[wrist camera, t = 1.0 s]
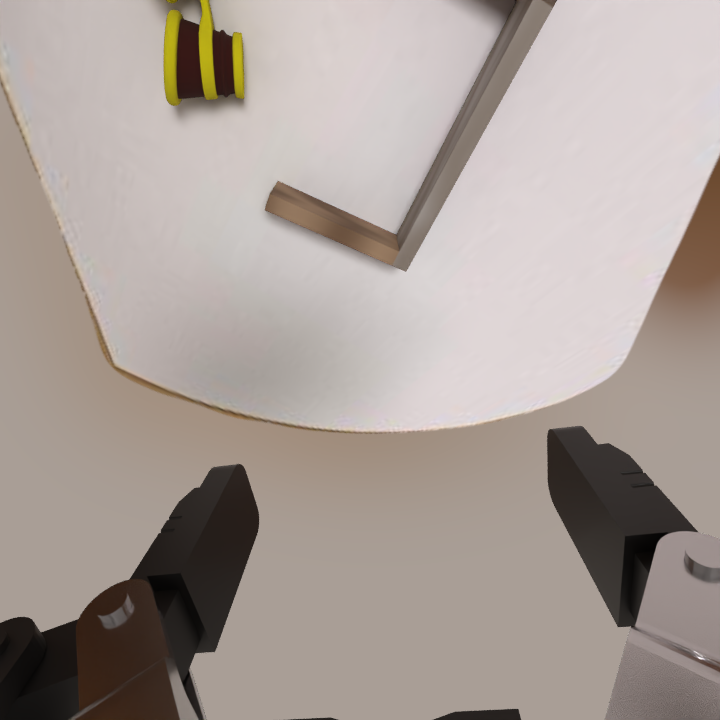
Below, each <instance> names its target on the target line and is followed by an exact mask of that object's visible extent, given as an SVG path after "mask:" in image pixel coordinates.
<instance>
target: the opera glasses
mask: <svg viewBox="0 0 720 720" xmlns="http://www.w3.org/2000/svg"><path fill="white" fill-rule="evenodd" d="M166 1H167V2H169V3H175V2H177V1H178V0H166ZM200 2H201V7H202V17H201V20H200V25H198V24H196V23H193V22H190V21H187V20H184V19H183V16H182V14H181V13H180V12H179V11H177V10H170V11H169V13H168V15H167V20H166V27H165V37H164V86H165V94H166V99H167V101H168V103H169V104H171V105H173V106H177V105H179V104H180V102H181V100H182V99H185V98H195V97H204V96H205V98H206V100H211V99H217V98H218V95H224V96H225V97H228V95H229V94H234V93H235V95H236V97H237V98H241V99H244V67H243V41H242V33H238V32H234V33H233V37H232V36H229V35H227V34H226V33H225V31H224V30H221V31H220V32H218V31H215V30H214V24H213V19H212V13H211V8H210V3H209V0H200Z"/></svg>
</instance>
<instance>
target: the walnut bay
mask: <svg viewBox="0 0 720 720" xmlns="http://www.w3.org/2000/svg"><path fill="white" fill-rule="evenodd" d="M516 1H517V2H516V4H515V6H514V7H513V9H512V11H511V13H510V15H509V17H508V19H507V21H506V23H505V25H504V27H503V29H502V31H501V33H500V35H499V37H498V39H497V41H496V42H495V44H494V46H493V48H492V50H491V52H490V54H489V56H488V58H487V60H486V62H485V64H484V66H483V68H482V70H481V72H480V74H479V76H478V77H477V79H476V81H475V83H474V85H473V87H472V89H471V91H470V93H469V95H468V97H467V99H466V101H465V103H464V105H463V107H462V109H461V111H460V112H459V114H458V116H457V118H456V120H455V122H454V124H453V126H452V128H451V130H450V132H449V134H448V136H447V138H446V140H445V142H444V144H443V146H442V147H441V149H440V151H439V153H438V155H437V157H436V159H435V161H434V163H433V165H432V167H431V169H430V171H429V173H428V175H427V177H426V179H425V181H424V182H423V184H422V186H421V188H420V190H419V192H418V194H417V196H416V198H415V200H414V202H413V204H412V206H411V208H410V210H409V212H408V214H407V216H406V217H405V219H404V221H403V223H402V225H401V227H400V229H399V231H398V233H397V235H395V234H393V233H391V232H389V231H386V230H384V229H382V228H380V227H378V226H375V225H373V224H371V223H369V222H367V221H364V220H362V219H360V218H358V217H356V216H353V215H351V214H349V213H347V212H345V211H343V210H340V209H338V208H336V207H334V206H332V205H329V204H327V203H325V202H323V201H321V200H318V199H316V198H314V197H312V196H310V195H307V194H305V193H303V192H301V191H299V190H296V189H294V188H292V187H290V186H288V185H286V184H283V183H281V182H279V181H278V182H277V183H276V185H275V187H274V188H273V190H272V191H271V193H270V195H269V198H268V201H267V204H266V208H265V210H266V211H268V212H270V213H273V214H275V215H277V216H280V217H282V218H284V219H286V220H289V221H291V222H293V223H296V224H298V225H300V226H302V227H305V228H307V229H309V230H312V231H314V232H316V233H319V234H321V235H323V236H325V237H328V238H330V239H332V240H335V241H337V242H339V243H341V244H344V245H346V246H348V247H351V248H353V249H355V250H357V251H360V252H362V253H364V254H367V255H369V256H371V257H374V258H376V259H378V260H380V261H383V262H385V263H387V264H390V265H392V266H394V267H396V268H399V269H401V270H403V271H407V269H408V267H409V266H410V264H411V262H412V260H413V258H414V257H415V255H416V253H417V251H418V249H419V248H420V246H421V244H422V242H423V240H424V239H425V237H426V235H427V233H428V231H429V230H430V228H431V226H432V224H433V222H434V221H435V219H436V217H437V215H438V213H439V212H440V210H441V208H442V206H443V204H444V203H445V201H446V199H447V197H448V195H449V194H450V192H451V190H452V188H453V186H454V185H455V183H456V181H457V179H458V177H459V176H460V174H461V172H462V170H463V168H464V167H465V165H466V163H467V161H468V159H469V158H470V156H471V154H472V152H473V150H474V149H475V147H476V145H477V143H478V141H479V140H480V138H481V136H482V134H483V132H484V131H485V129H486V127H487V125H488V123H489V122H490V120H491V118H492V116H493V114H494V113H495V111H496V109H497V107H498V105H499V104H500V102H501V100H502V98H503V96H504V95H505V93H506V91H507V89H508V87H509V86H510V84H511V82H512V80H513V78H514V77H515V75H516V73H517V71H518V69H519V68H520V66H521V64H522V62H523V60H524V59H525V57H526V55H527V53H528V51H529V50H530V48H531V46H532V44H533V42H534V41H535V39H536V37H537V35H538V33H539V32H540V30H541V28H542V26H543V24H544V23H545V21H546V19H547V17H548V15H549V14H550V12H551V10H552V8H553V6H554V5H555V3H556V1H557V0H516Z"/></svg>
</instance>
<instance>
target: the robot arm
mask: <svg viewBox="0 0 720 720" xmlns="http://www.w3.org/2000/svg"><path fill="white" fill-rule="evenodd" d="M547 438H548V439H547V451H548V452H547V453H548V486H549V491H550V495H551V498H552V502H553V504H554V506H555V508H556V510H557V512H558V514H559V516H560V517H561V519H562V521H563V523H564V525H565V527H566V529H567V531H568V533H569V535H570V536H571V539H572V540H573V542H574V544H575V546H576V548H577V550H578V552H579V554H580V556H581V558H582V559H583V561H584V563H585V565H586V567H587V569H588V571H589V573H590V575H591V577H592V578H593V580H594V582H595V584H596V586H597V588H598V590H599V592H600V594H601V595H602V597H603V599H604V601H605V603H606V605H607V607H608V609H609V611H610V613H611V615H612V617H613V618H614V620H615V622H616V624H617V626H618V627H628V626H631V628H630V631H629V634H628V637H627V641H626V644H625V648H624V651H623V655H622V659H621V663H620V666H619V670H618V673H617V677H616V681H615V684H614V688H613V691H612V695H611V699H610V702H609V706H608V710H607V713H606V717H605V720H720V539H719V538H716V537H713V536H710V535H707V534H703V533H699V532H698V531H697V530H696V529H695V528H694V527H693V526H692V525H691V524H690V523H689V521H688V520H687V519H686V518H685V517H684V516H683V515H682V514H681V512H680V511H679V510H678V509H677V508H676V507H675V506H674V505H673V504H672V502H671V501H670V500H669V499H668V498H667V497H666V496H665V495H664V494H663V492H662V491H661V490H660V489H659V488H658V487H657V486H654V483H653V481H652V480H651V479H650V478H649V477H648V476H647V474H646V473H643V471H642V469H641V468H640V467H639V465H638V464H637V463H636V462H635V461H634V460H633V459H632V458H631V457H630V455H628V454H626V453H625V452H623V451H621V450H619V449H618V448H616V447H614V446H612V445H611V444H609V443H608V444H599V445H598V444H597V443H596V442H595V441H594V440H593V438H592V437H591V436H590V435H589V433H588V432H587V431H586V430H585V429H584V427H582V426H575V427H567V428H557V429H550V430H549V431H548V436H547ZM258 528H259V512H258V508H257V505H256V502H255V499H254V495H253V492H252V490H251V486H250V483H249V480H248V477H247V474H246V471H245V469H244V467H243V466H242V465H241V464H237V465H228V466H219V467H213V468H212V469H211V470H210V471H209V473H208V475H207V476H206V478H205V480H204V481H203V483H202V484H201V486H200V488H194V489H193V490H192V491H191V492H190V493H188V494H187V495H186V496H185V497H184V498H183V499H182V500H181V501H179V503H178V504H177V506H176V507H175V509H174V510H173V512H172V514H171V515H170V517H169V520H167V521H166V523H165V525H164V526H163V528H162V529H161V533H159V534H158V536H157V537H156V539H155V540H154V542H153V543H152V545H151V546H150V548H149V550H148V551H147V553H146V554H145V556H144V557H143V559H142V561H141V562H140V564H139V565H138V567H137V569H136V570H135V572H134V573H133V575H132V576H131V578H130V579H129V580H126V581H123V582H120V583H117V584H115V585H113V586H111V587H110V588H108V589H106V590H105V591H103V592H102V593H100V594H99V595H98V596H97V597H96V598H95V599H93V600H92V601H91V602H90V603H89V604H88V606H87V607H86V608H85V609H84V611H83V612H82V614H81V615H80V617H79V619H78V620H75V621H72V622H69V623H66V624H64V625H61V626H58V627H55V628H53V629H50V630H47V631H44V632H40V631H39V629H38V628H37V626H36V625H35V623H34V622H33V620H32V619H30V618H27V617H17V618H13V619H10V620H6V621H4V622H2V623H0V720H207V719H206V715H205V712H204V709H203V706H202V703H201V699H200V696H199V693H198V690H197V686H196V683H195V680H194V677H193V674H192V672H191V670H190V665H191V663H192V660H193V657H194V655H195V653H204V652H215V650H216V648H217V645H218V642H219V639H220V636H221V634H222V631H223V628H224V625H225V622H226V620H227V617H228V614H229V611H230V608H231V606H232V603H233V600H234V597H235V595H236V592H237V589H238V586H239V583H240V581H241V578H242V575H243V572H244V569H245V566H246V564H247V561H248V558H249V555H250V552H251V550H252V547H253V544H254V541H255V539H256V536H257V533H258ZM291 720H292V719H291ZM293 720H337V719H333V718H312V719H293ZM434 720H521V718H520V714H519V710H518V709H505V710H484V711H462V712H453V713H450V714H448V715H445V716H442V717H440V718H437V719H434Z"/></svg>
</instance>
